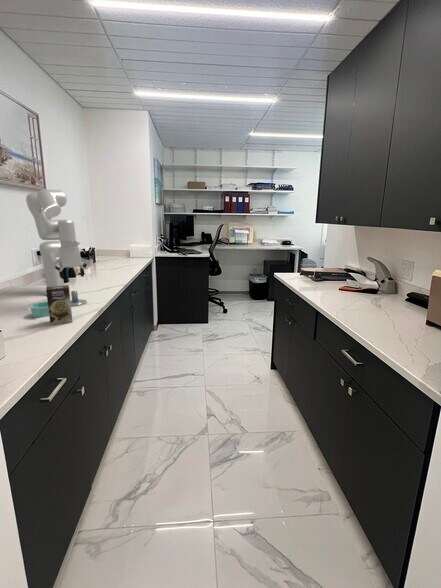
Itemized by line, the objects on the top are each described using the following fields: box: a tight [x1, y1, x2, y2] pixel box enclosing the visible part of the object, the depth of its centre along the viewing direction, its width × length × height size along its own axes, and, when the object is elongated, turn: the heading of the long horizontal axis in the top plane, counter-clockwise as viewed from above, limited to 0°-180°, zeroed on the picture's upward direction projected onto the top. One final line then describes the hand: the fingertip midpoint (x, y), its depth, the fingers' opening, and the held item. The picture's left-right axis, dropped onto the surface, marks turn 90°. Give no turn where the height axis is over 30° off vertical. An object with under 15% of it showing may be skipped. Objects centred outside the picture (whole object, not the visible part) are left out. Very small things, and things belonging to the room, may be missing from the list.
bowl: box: [29, 301, 49, 319], centre depth 149 cm, size 11×11×5 cm
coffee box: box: [45, 284, 74, 326], centre depth 138 cm, size 9×6×16 cm
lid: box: [70, 290, 88, 308], centre depth 165 cm, size 11×11×7 cm
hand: (72, 277), depth 162 cm, fingers open, 9 cm apart
